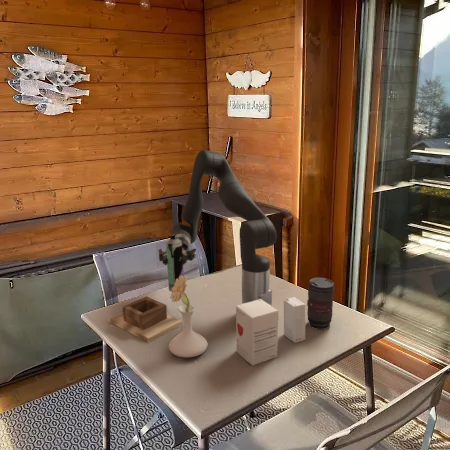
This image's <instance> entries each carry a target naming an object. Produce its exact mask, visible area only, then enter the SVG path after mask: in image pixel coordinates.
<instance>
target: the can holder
mask: <svg viewBox="0 0 450 450" xmlns="http://www.w3.org/2000/svg"><path fill="white" fill-rule="evenodd" d="M109 323H111V324H112V325H115V326H117V327H119V328H121V329H123V330H124V331H126V332H127V333H130V334H131V335H134V336H135V337H137V338H139V339H141V340H143V341H144V342H147V343H150V342H152V341H154V340H157V339H158V338H160V337H162V336H164V335H166V334H168V333H170V332H172V331H174V330H176V329H178V328H180V327H182V326H183V320H180V319H178V318H176V317H174V316H171V315H169V314H168V313H167V304H165V303H162V302H160V301H158V300H156V299H153V298H151V297H149V296H144V297H141V298H139V299H137V300H135V301H133V302H130V303H128V304H125V305H122V312H120V313H118V314H115V315H113V316H111V317H109Z"/></svg>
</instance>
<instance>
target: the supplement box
mask: <svg viewBox="0 0 450 450" xmlns="http://www.w3.org/2000/svg"><path fill="white" fill-rule="evenodd" d="M235 322H236V323H235V326H236V328H235V333H236V334H235V336H236V340H235V341H236V342H235V343H236V344H235V346H236V347H235V349H236V350H235V351H236V353H238V354H239V355H240V356H241V357H242V358H243V359H244V360H246V362H248V363H249V364H250V366H256V365H257V364H261V363H264V362H266V361H269V360H272V359H276V358H277V357H278V340H279V339H278V338H279V336H278V332H279V310H278V309H277V308H275V307H273V305H272V306H271V305H270V304H268V303H266V302H265V301H263V300H262V299H259V300H255V301H252V302H248V303H244V304H242V303H241V304H238V305H236V306H235Z"/></svg>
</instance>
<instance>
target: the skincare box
mask: <svg viewBox="0 0 450 450" xmlns="http://www.w3.org/2000/svg"><path fill="white" fill-rule="evenodd" d="M283 335H284V336H285V337H287V338H288V339H289V340H290V341H292V343H294V344H295V343H299V341H300V342H302V341H305V340H306V304H305V303H304V302H303V301H301V300H300V299H298V298H296V297H295V296H293V297H288V298H286V299H285V298H284V299H283Z"/></svg>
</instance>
